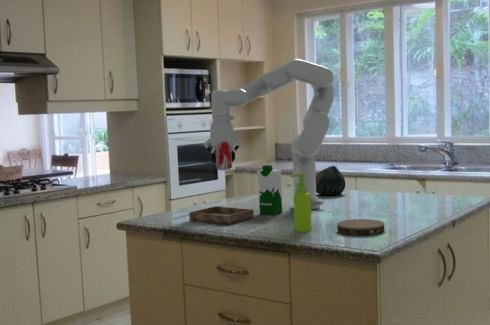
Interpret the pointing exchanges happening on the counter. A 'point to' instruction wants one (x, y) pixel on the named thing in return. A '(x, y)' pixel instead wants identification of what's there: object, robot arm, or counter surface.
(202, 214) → the walnut tray
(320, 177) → the squash
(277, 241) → the counter surface
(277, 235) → the counter surface
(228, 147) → the soda can
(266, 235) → the counter surface
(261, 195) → the milk carton
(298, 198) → the soap dispenser
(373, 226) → the brown round disc
